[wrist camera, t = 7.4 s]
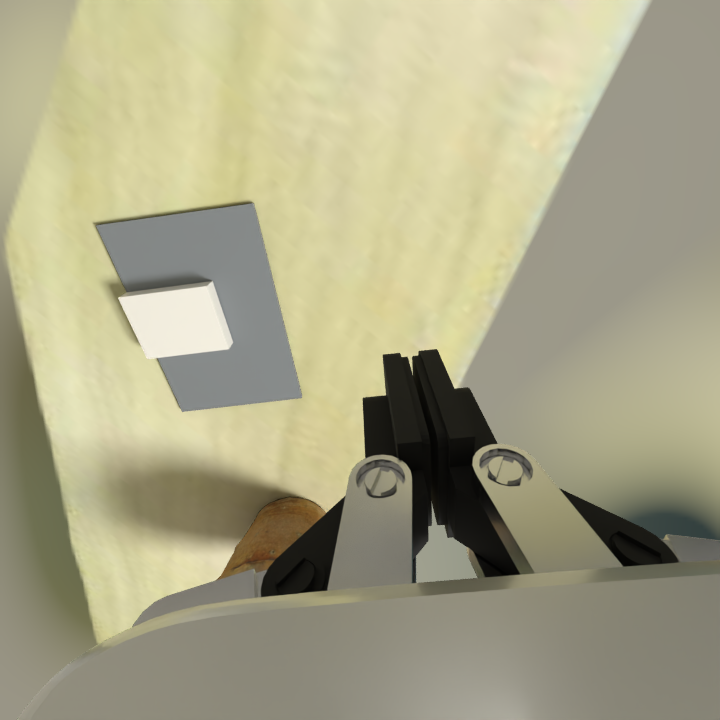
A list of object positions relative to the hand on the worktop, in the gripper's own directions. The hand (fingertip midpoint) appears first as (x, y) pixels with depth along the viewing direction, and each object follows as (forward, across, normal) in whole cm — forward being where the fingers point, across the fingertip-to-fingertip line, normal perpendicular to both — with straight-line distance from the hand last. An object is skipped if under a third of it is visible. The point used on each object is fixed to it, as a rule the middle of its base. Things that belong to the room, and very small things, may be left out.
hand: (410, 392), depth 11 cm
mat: (+27, +18, +7) cm, 33 cm away
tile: (+26, +16, +6) cm, 31 cm away
